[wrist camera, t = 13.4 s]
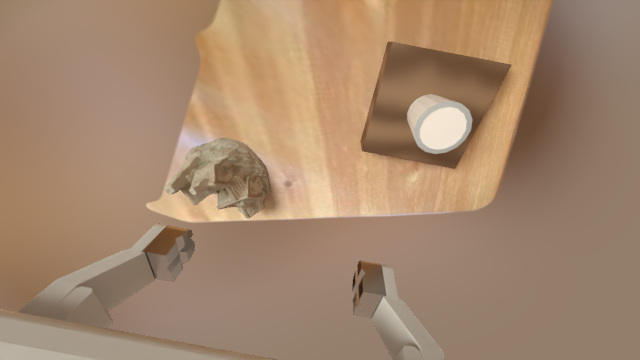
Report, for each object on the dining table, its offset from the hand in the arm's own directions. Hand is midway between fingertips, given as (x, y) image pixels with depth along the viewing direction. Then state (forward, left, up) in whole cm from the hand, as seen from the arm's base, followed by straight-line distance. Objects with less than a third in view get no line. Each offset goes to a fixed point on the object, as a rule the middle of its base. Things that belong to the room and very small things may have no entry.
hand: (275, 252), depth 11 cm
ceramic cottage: (+19, -17, -34) cm, 42 cm away
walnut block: (-2, +16, -34) cm, 37 cm away
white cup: (-2, +16, -29) cm, 33 cm away
